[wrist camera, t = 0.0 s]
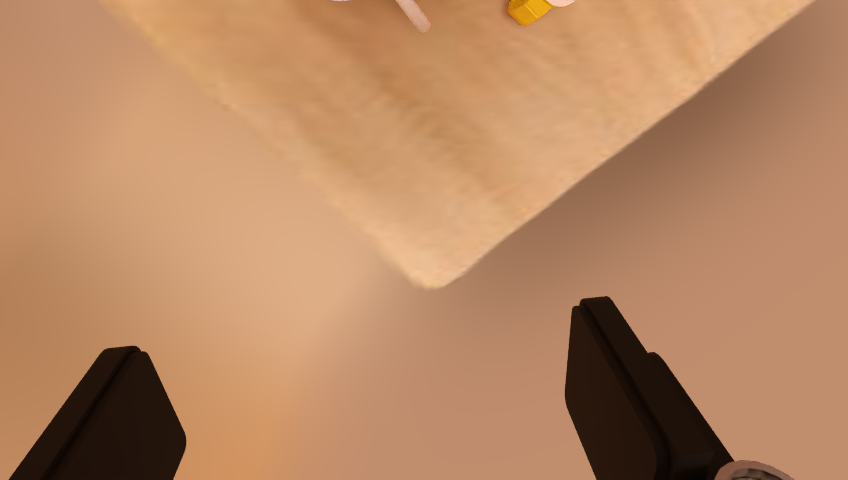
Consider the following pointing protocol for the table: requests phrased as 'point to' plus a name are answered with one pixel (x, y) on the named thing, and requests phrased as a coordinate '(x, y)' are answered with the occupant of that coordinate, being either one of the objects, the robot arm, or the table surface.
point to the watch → (532, 9)
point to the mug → (412, 14)
